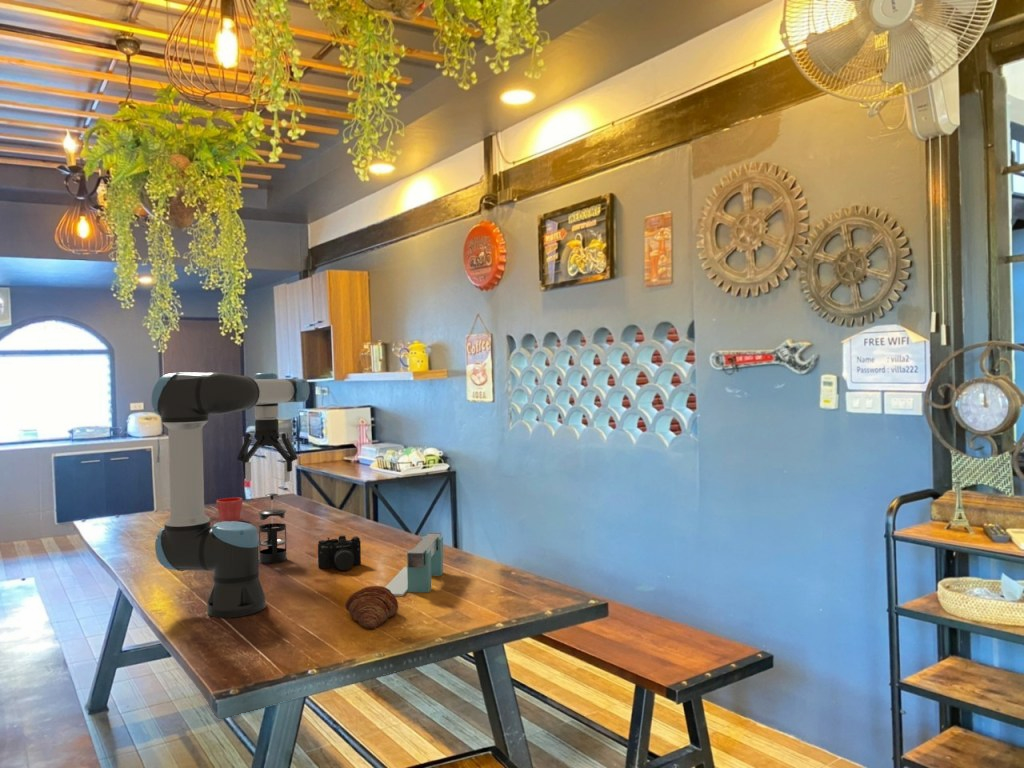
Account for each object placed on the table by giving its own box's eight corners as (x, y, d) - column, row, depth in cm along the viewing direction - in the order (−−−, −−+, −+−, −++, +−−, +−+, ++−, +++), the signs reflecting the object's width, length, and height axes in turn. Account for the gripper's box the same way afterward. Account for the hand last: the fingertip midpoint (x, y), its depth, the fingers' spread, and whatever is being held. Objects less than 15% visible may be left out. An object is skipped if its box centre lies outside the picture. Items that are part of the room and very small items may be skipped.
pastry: (416, 616, 198) (416, 586, 198) (369, 632, 186) (369, 600, 186) (376, 604, 209) (376, 575, 209) (329, 617, 198) (329, 587, 198)
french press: (289, 562, 256) (288, 495, 255) (260, 565, 252) (259, 497, 251) (284, 554, 266) (283, 490, 266) (256, 558, 262) (255, 492, 262)
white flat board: (402, 596, 215) (402, 594, 215) (379, 595, 216) (379, 593, 216) (425, 568, 245) (425, 566, 245) (404, 568, 246) (404, 566, 246)
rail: (422, 567, 216) (422, 553, 216) (408, 567, 216) (408, 553, 216) (441, 545, 244) (441, 533, 243) (429, 545, 244) (429, 532, 244)
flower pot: (211, 523, 325) (210, 500, 325) (227, 518, 335) (227, 496, 335) (232, 524, 322) (231, 501, 322) (248, 519, 332) (247, 497, 332)
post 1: (428, 592, 219) (428, 553, 218) (407, 592, 219) (407, 552, 219) (431, 588, 223) (430, 549, 222) (410, 588, 223) (410, 549, 223)
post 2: (440, 575, 237) (440, 539, 236) (421, 575, 237) (421, 539, 237) (443, 572, 241) (442, 536, 240) (424, 572, 241) (423, 536, 241)
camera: (318, 574, 240) (318, 543, 240) (317, 566, 251) (317, 536, 250) (362, 570, 244) (362, 540, 244) (360, 563, 254) (359, 533, 254)
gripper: (306, 417, 257) (307, 479, 257) (236, 418, 259) (237, 479, 259) (298, 419, 249) (299, 483, 249) (226, 419, 252) (227, 482, 252)
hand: (267, 481), depth 254 cm, fingers open, 13 cm apart
